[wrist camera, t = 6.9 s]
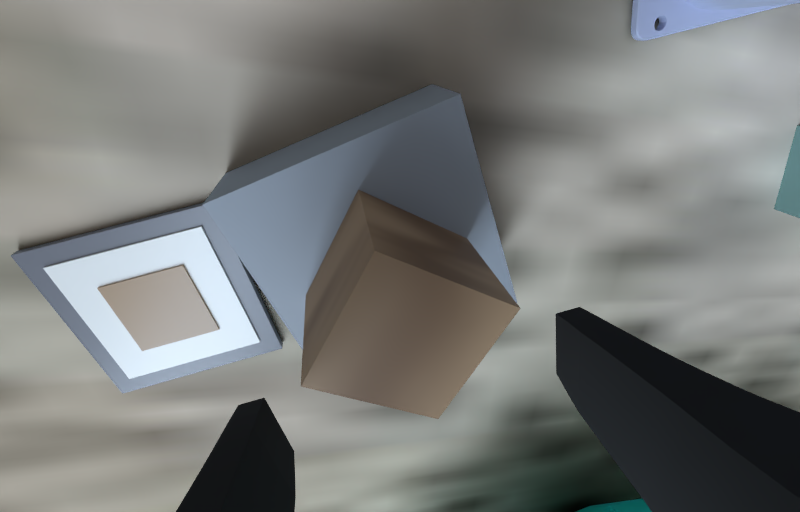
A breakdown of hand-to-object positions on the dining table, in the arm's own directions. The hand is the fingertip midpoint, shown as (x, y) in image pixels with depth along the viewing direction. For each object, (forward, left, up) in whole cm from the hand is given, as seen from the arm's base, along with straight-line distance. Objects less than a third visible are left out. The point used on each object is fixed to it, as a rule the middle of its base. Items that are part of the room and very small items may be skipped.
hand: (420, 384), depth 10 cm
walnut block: (0, 0, -6) cm, 6 cm away
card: (+10, +1, -10) cm, 14 cm away
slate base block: (0, 0, -10) cm, 10 cm away
